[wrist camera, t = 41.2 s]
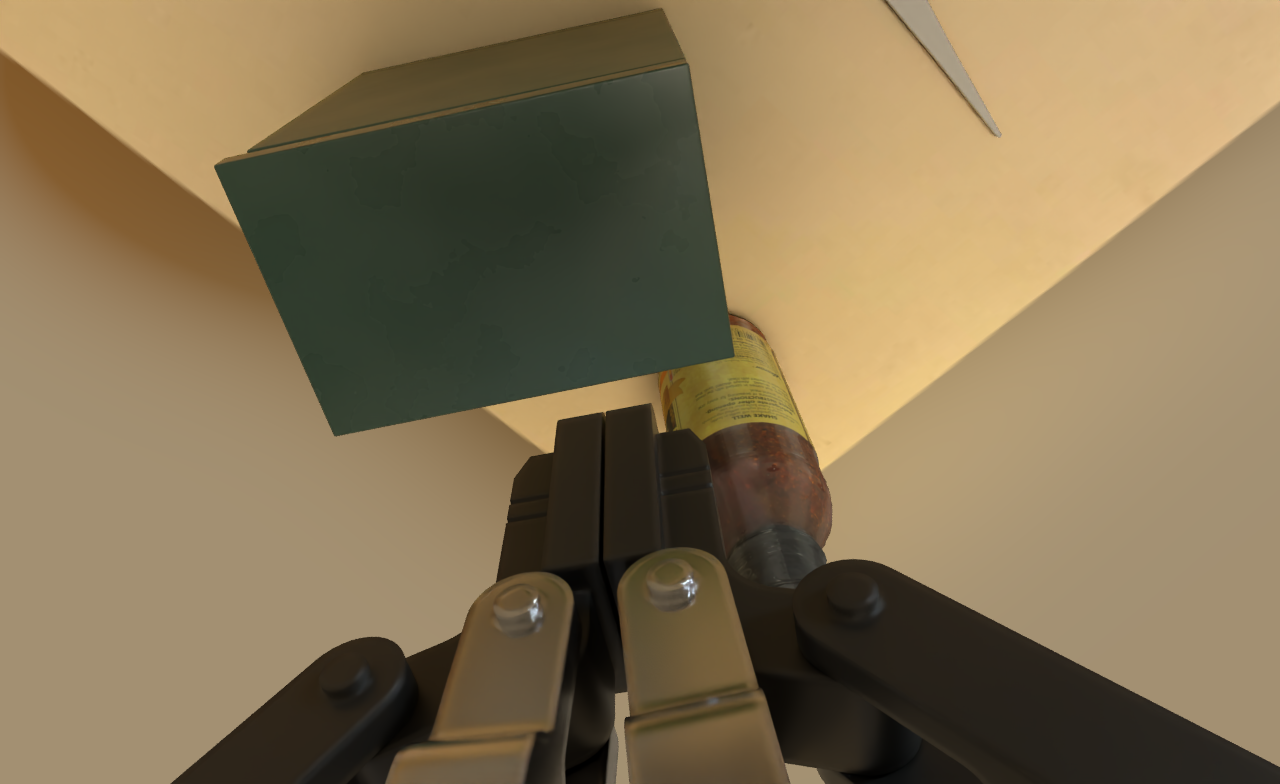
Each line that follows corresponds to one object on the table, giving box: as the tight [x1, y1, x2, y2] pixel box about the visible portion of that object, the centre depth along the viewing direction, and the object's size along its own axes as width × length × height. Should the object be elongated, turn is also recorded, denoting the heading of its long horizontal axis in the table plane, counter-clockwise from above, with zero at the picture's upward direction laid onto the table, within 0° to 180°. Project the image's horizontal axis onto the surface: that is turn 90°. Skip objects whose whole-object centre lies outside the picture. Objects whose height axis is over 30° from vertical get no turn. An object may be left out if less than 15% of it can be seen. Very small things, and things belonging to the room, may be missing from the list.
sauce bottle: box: [658, 315, 832, 589], centre depth 37 cm, size 7×6×20 cm
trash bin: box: [247, 8, 686, 153], centre depth 34 cm, size 14×10×14 cm
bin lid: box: [214, 59, 735, 436], centre depth 27 cm, size 14×10×1 cm
